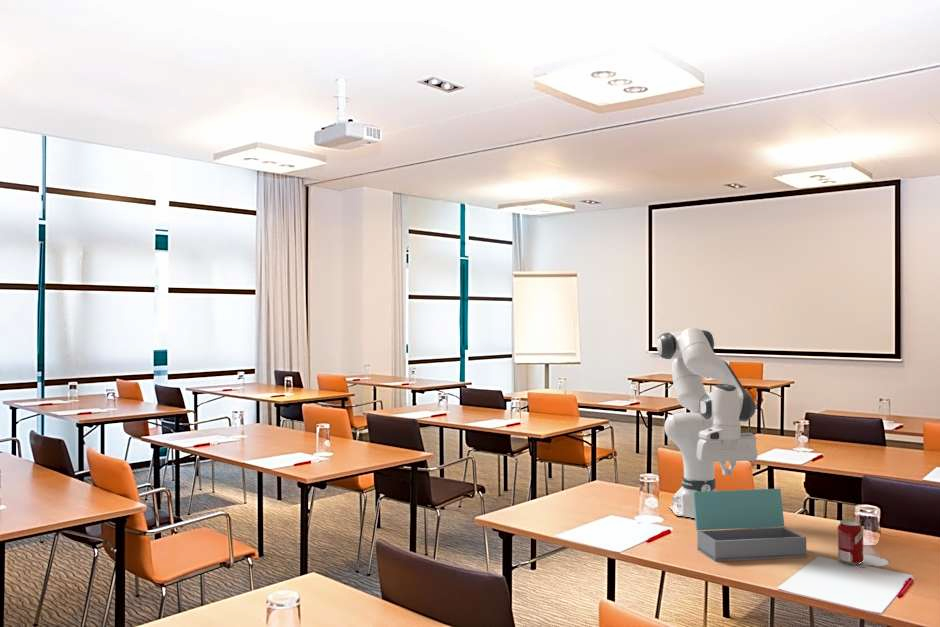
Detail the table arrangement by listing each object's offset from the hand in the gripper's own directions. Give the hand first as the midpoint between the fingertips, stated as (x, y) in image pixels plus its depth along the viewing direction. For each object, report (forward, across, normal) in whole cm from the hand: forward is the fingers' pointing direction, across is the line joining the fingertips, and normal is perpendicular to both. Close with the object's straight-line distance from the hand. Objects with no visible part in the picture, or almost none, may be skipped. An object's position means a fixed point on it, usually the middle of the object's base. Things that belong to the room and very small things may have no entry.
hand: (727, 474), depth 246 cm
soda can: (+22, -25, +28) cm, 43 cm away
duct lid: (+10, 0, +8) cm, 12 cm away
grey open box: (+22, 0, +14) cm, 26 cm away
